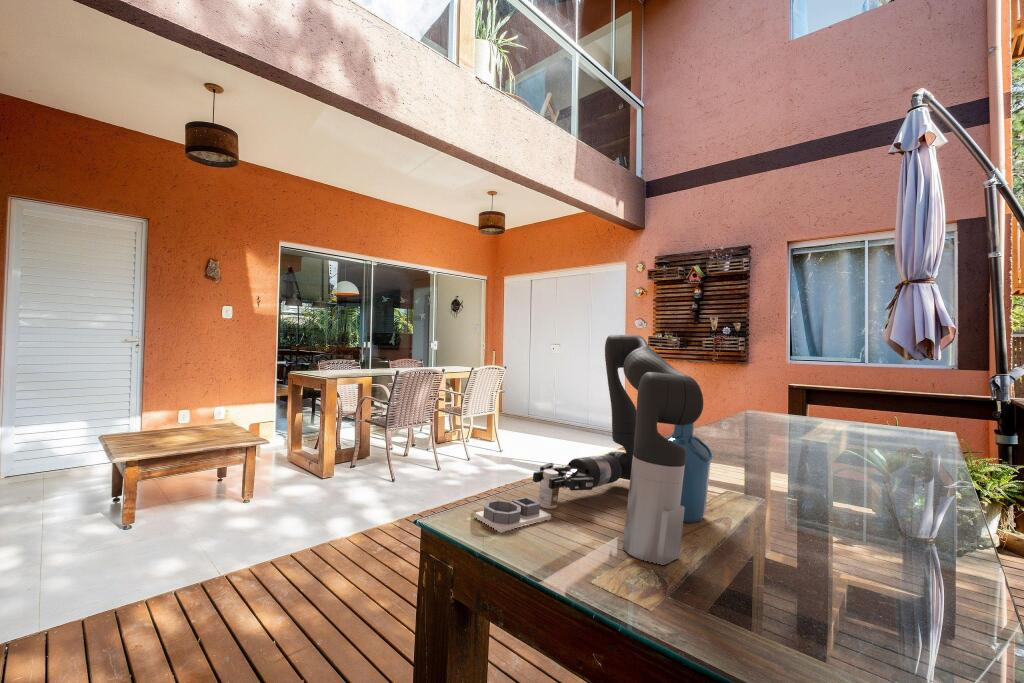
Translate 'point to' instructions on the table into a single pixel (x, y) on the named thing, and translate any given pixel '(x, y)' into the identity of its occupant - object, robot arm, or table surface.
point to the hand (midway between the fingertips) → (542, 480)
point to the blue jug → (693, 472)
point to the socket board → (511, 513)
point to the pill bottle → (548, 491)
